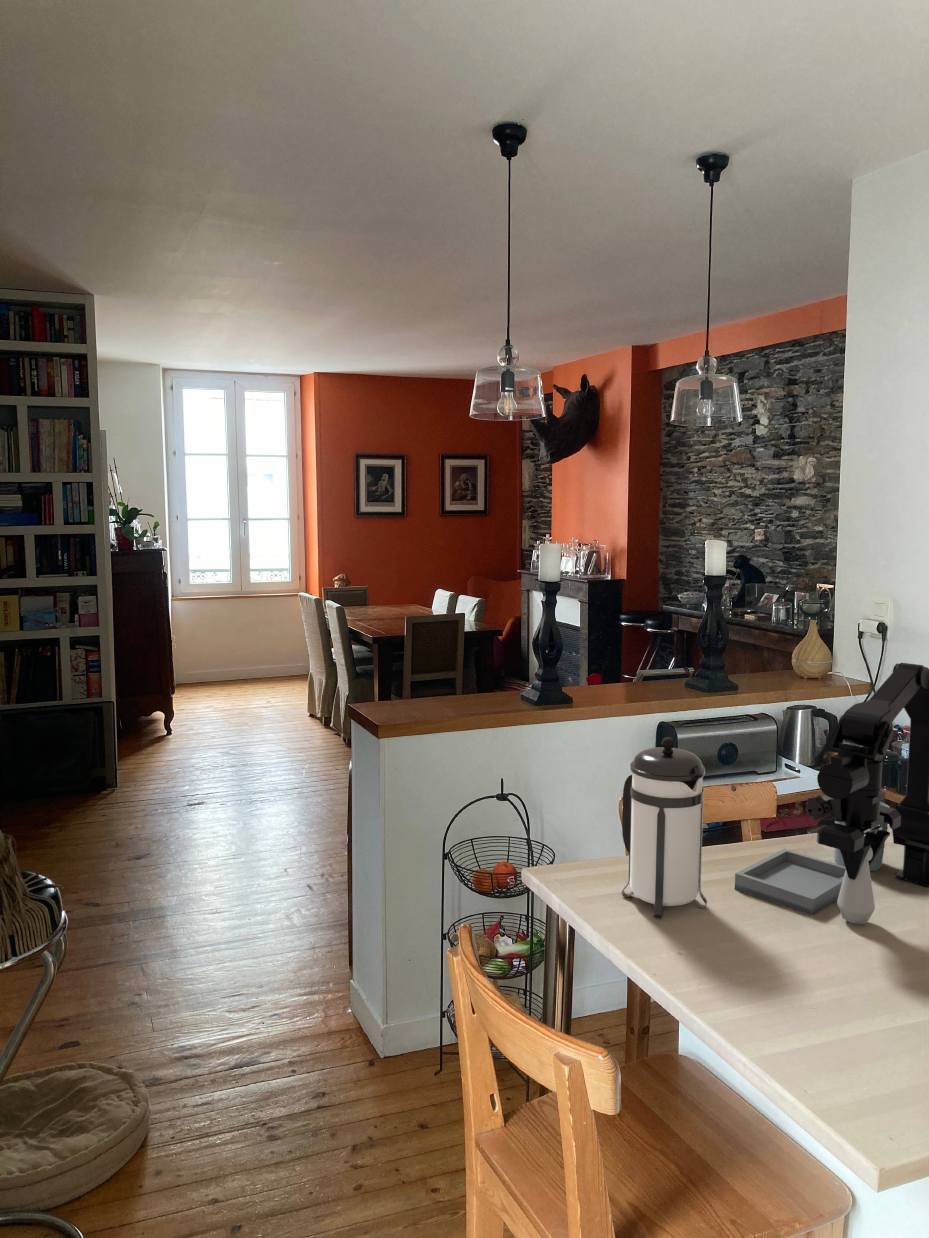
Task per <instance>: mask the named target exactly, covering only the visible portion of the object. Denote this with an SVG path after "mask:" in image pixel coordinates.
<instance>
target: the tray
mask: <svg viewBox="0 0 929 1238" xmlns="http://www.w3.org/2000/svg"><path fill="white" fill-rule="evenodd" d="M845 871H846V868H845V866H842V865H838V864H837V863H836V862H835V863H834V862H832V861H827V860H825V859H821V858H818V857H815V856H811V855H807V854H805V853H804V854H803V853H800V852H797V851H794V850H791V849H787V848H783V849H780V850H778V851H776V852H775V853H773V854H771V855H769V856H767V857H765V858H763V859H761V860H759V861H757V862H755V863H753V864H751V865H749V866H747V867H745V868H743V869H741V870H739V871H738V872H735V873H734V889H735V890H736V891H739V892H741V893H742V892H743V893H746V894H748V895H752V896H754V897H756V898H759V899H762V900H765V901H769V902H770V903H774V904H777V905H780V906H783V907H786V908H789V909H792V910H793V911H794V910H795V911H798V912H801V913H803V914H805V915H809V916H814V915H816V914H818V913H819V912H821V911H823V910H824V909H826V908H827V907H830V906H831V905H832V904H834V903H835V902H837V900H838V896H839V893H840V889H841V885H842V882H843V878H844V874H845Z"/></svg>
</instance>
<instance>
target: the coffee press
mask: <svg viewBox="0 0 929 1238" xmlns="http://www.w3.org/2000/svg"><path fill="white" fill-rule="evenodd" d="M660 744H661V746H662V747H660V746H659V747H651V748H650V747H649V748H646V749H643V750H641V751H640V752H638V753H637V754H636V755H635V756H634V758H633V760H632V761H631V762H630V767H629V768H630V772H631V774H630V775H629V776H627V778H626V779H625V781H624V784H623V790H622V812H621V813H622V815H621V816H622V817H621V818H622V819H621V820H622V821H621V826H622V829H621V832H622V833H621V834H622V841H623V844H624V846H625V850H626V851H627V853H628V882H627V884H626V885H624V887H623V889H622V891H621V895H622V897H623V898H625V897H628V898H629V897H631V896H633V895H634V896H636V897H637V898H639V899H640V900H641V901H644V902H646V903H649V904H652V905H654V907H653V918H658V919H663V913H664V907H675V906H677V907H678V906H683V905H686V904H689V903H691V902H692V903H694V904H695V905H696V906H697V907H698V908H699V909H701V910H705V909H706V908H707V904H708V900H707V898H706V896H704V894H703V892H702V858H703V857H702V855H703V854H702V853H703V851H702V850H703V827H704V826H703V825H704V824H703V823H704V822H703V821H704V819H703V818H704V793H705V792H704V791H705V790H704V789H705V788H704V787H703V779H704V776H705V775H706V767H705V766H704V764H703V762H702V760H701V759H700V758H699V757H698V756H697V754H695V753H693V752H691V751H688V750H686V749H682V748H676V747H675V745H676V742H675V740H674V739H673V738H672V737H671V736H669V737H668V736H666V737H664V738H663V739H662V741H661V742H660ZM628 885H629V886H630V889H631V892H630V893H626V892H625V890H626V888H627V887H628ZM698 894H699V897H700V898H701V900H702V901H703V902H704V903H705V904H701V903H700V902H699V901H698V900H697V899H696V898H697V897H698Z"/></svg>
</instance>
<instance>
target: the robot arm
mask: <svg viewBox="0 0 929 1238" xmlns="http://www.w3.org/2000/svg"><path fill="white" fill-rule="evenodd" d="M902 710H904V711H905V713H906V714H907V716H908V717H909V719H910V724H909V725H910V726H909V740H908V742H909V743H908V756H907V758H908V759H907V773H906V790H905V791H906V793H905V797H903V799H902V800H901V801H900V802H899V803H898V804H897V805H896V806H895V807H894V808H893V807H890V806H889V807H890V808H889V807H885V806H881V805H880V802H882V800H885V799H886V792H885V791H882V777H883V758H884V757H885V756H886V755H887V751H888V749H889V746H890V744H891V742H892V739H893V737H894V735H895V732H894V723H893V722H894V720H895V719H896V718H897V717H898V715H899V714H900V712H902ZM844 742H845V743H844ZM828 752H829V753H830V752H831V753H836V754H833V755H831V756H830V762H829V763H827V764H825V765H823V766H822V767H821V768H820V770H818V771H819V772H818V773H817V778H816V780H817V785H818V787H819V789H820V790H821V792H822V793H823V794H824V795H822V796H821V795H820V794H819V795H816V796H814V795H812V796H809V797H808V798H807V801H806V802H805V805H806V806H805V808H804V811H805V813H807V814H808V816H810V817H811V819H812V820H813V821H817V820H819V819H824V818H833V821H834V822H833V821H832V822H830V823H829V824H827V825H825V826H824V825H823V826H822V827H821V828H820V829H818V830H817V831H816V833H817V834H816V835H817V836H816V842H817V843H818V844H819V845H823V846H826V847H829V848H833V849H835V848H836V849H840V852H841V854H842V857H843V861H844V864H845V868H846V871H847V875H848V878H849V879H853V880H855V879H856V878H857V875H858V873H859V871H860V869H861V867H862V864H863V862H864V860H865V857H866V855H867V853H868V850H869V848H870V847H871V848H872V851H873V856H872V859H871V860H870V861H868V862H869V867H870V866H871V864H872V862H873V860H874V859H875V857H876V855H877V854H878V852H879V850H880V849H881V847H882V846H883V844H884V842H885V843H886V840H888V838H889V837H890V836H891V832H890V831H888V830H887V831H883V830H882V826H880V824H881V823H883V822H885V823H888V827H889V828H890V829H891V831H892V839H893V840H892V841H893V844H894V845H900V846H903V848H904V849H903V864H902V870H899V872H897V873H896V874H895V878H897V879H901V880H904V881H907V882H910V883H913V884H914V883H915V884H918V885H921V886H925V887H928V888H929V667H927V666H924V665H923V664H915V663H907V662H900V663H895V665H894V666H893V669H892V672H891V674H890V675H889V676H888V678H887V679H886V680H885V681H884V682H883V683H882V684H881V686H879V687H878V689H876V691H875V692H874V693H873V695H872V696H871V697H870V698H868V699H867V700H866V701H862V702H858V703H855V704H853V705H852V706H851V707H849V708H848V709H847V710H845V711H844V713H843V714H842V715H841V716H840V717H839V720H838V723H837V725H836V727H835V731H834V734H833V736H832V740H831V742H830V745H829V747H828ZM835 821H838V822H845V824H846V825H841V824H837V823H835ZM884 845H885V844H884Z"/></svg>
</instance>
